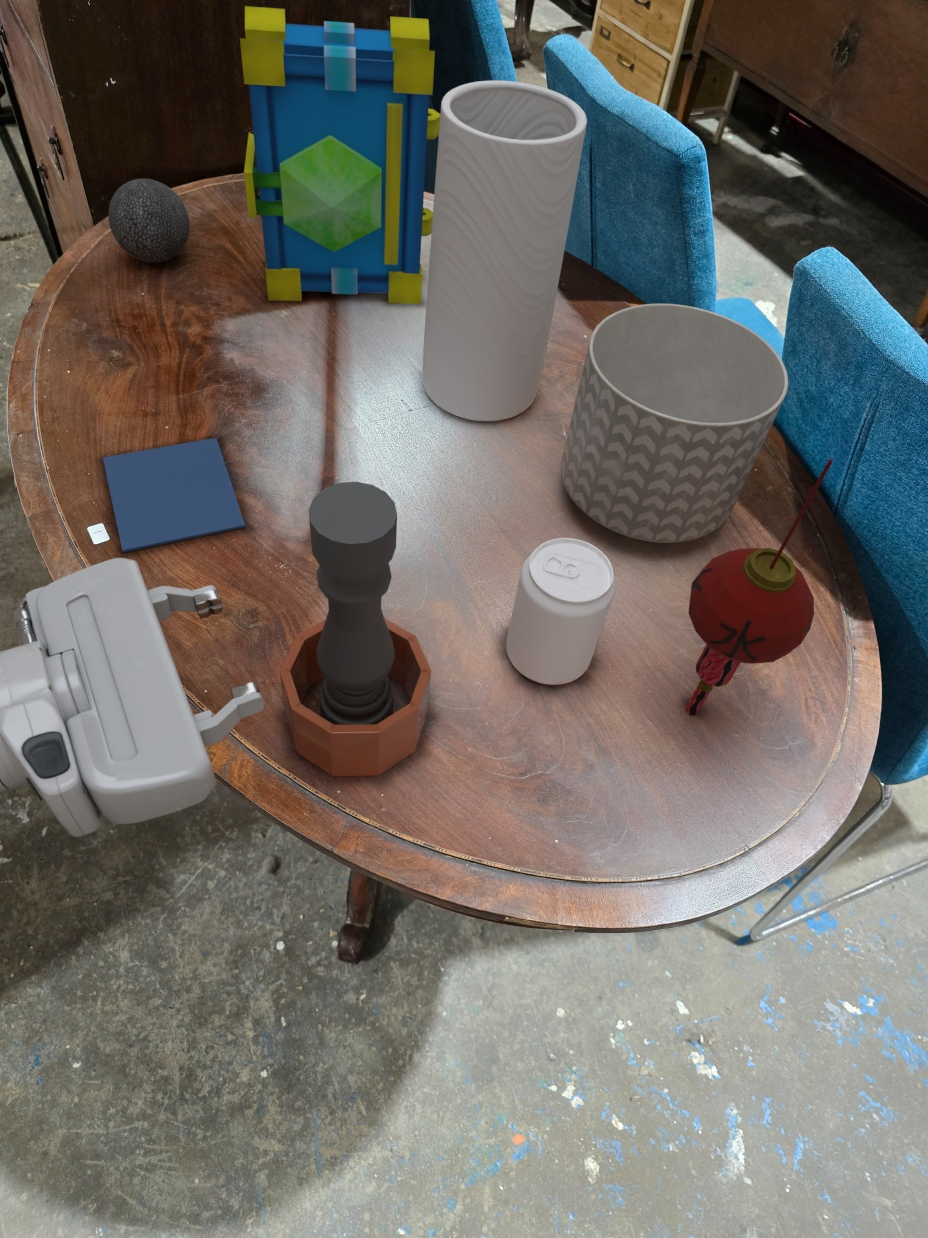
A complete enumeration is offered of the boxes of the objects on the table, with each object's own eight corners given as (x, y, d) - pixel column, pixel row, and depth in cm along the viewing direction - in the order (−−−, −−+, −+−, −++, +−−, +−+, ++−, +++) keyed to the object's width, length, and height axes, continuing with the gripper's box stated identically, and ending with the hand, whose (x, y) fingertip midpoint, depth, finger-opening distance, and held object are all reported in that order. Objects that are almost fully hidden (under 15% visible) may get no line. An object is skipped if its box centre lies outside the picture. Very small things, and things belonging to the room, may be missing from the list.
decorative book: (262, 252, 120) (236, -2, 96) (427, 258, 123) (441, 12, 99) (257, 311, 111) (228, 46, 87) (434, 315, 114) (452, 61, 91)
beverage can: (577, 700, 78) (606, 619, 69) (493, 671, 79) (510, 586, 70) (599, 635, 83) (629, 551, 74) (520, 608, 84) (539, 522, 75)
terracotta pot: (310, 796, 70) (305, 754, 64) (273, 678, 77) (266, 631, 71) (443, 755, 73) (449, 712, 68) (397, 646, 80) (399, 598, 75)
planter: (612, 583, 87) (660, 444, 73) (525, 463, 97) (553, 321, 83) (760, 535, 94) (830, 399, 79) (664, 427, 104) (711, 289, 89)
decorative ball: (109, 274, 113) (91, 198, 105) (127, 235, 119) (111, 160, 112) (187, 280, 114) (174, 205, 106) (201, 241, 120) (189, 167, 112)
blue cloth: (123, 553, 84) (122, 550, 84) (103, 460, 92) (102, 457, 91) (245, 527, 88) (245, 524, 87) (217, 440, 95) (216, 437, 95)
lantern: (658, 653, 82) (774, 396, 59) (753, 692, 80) (913, 443, 57) (627, 728, 77) (742, 477, 53) (729, 773, 75) (895, 533, 51)
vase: (556, 416, 103) (616, 138, 78) (443, 434, 99) (469, 149, 74) (511, 346, 111) (553, 75, 86) (405, 361, 107) (418, 81, 82)
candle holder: (308, 731, 74) (286, 527, 54) (341, 677, 77) (332, 467, 58) (373, 758, 73) (375, 559, 53) (404, 702, 76) (416, 497, 57)
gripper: (22, 625, 65) (203, 572, 70) (81, 860, 55) (290, 779, 59) (-6, 570, 60) (190, 517, 65) (53, 817, 50) (283, 733, 54)
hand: (239, 644), depth 62 cm, fingers open, 8 cm apart
